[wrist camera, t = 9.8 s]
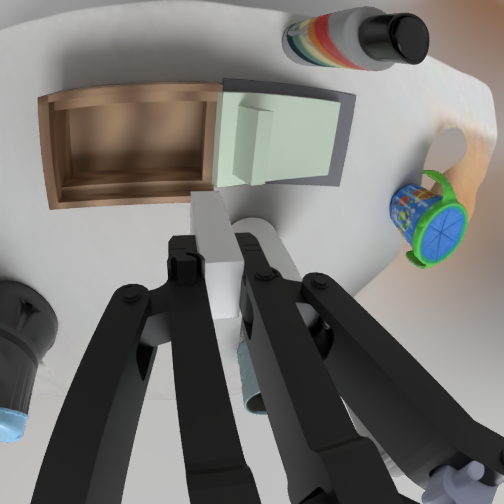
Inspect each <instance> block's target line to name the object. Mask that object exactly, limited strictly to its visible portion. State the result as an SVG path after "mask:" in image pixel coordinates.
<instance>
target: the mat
mask: <svg viewBox="0 0 504 504" xmlns="http://www.w3.org/2000/svg"><path fill="white" fill-rule="evenodd" d="M223 92H248V93H265V94H278V95H289V96H298V97H307V98H315V99H323V100H330V101H336V102H340V103H341V104H340V110H339V116H338V122H337V128H336V134H335V140H334V145H333V151H332V156H331V162H330V167H329V172H328V175H324V176H313V177H302V178H292V179H283V180H274V181H265V184H296V185H320V186H338V187H339V185H340V181H341V176H342V171H343V166H344V161H345V156H346V151H347V146H348V141H349V135H350V130H351V124H352V119H353V113H354V107H355V101H356V96H354V95H349V94H344V93H339V92H334V91H328V90H323V89H317V88H311V87H304V86H297V85H290V84H282V83H274V82H264V81H254V80H242V79H226V78H224V82H223Z"/></svg>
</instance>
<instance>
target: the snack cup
mask: <svg viewBox="0 0 504 504" xmlns="http://www.w3.org/2000/svg"><path fill="white" fill-rule="evenodd" d="M421 172H422V173H424V174H427V175H428V176H429V177H431V178H432V179H434V180H435V181H437V182H438V183H440V184H441V187H442V191H443V196H441V195H438V194H437V193H434V192H432V191H429V190H427V189H425V188H423V187H420V186H418V185H413V184H409V185H408V186H406V187H404V188H402V189H401V190H399V191H398V193H397V194H396V195H394V197H393V199H392V204H391V206H390V213H391V219H392V220H393V222H394V224H395V225H396V227H397V228H398V229H399V231H400V232H401V233H402V235H403V236H404V237H405V239H406V240H407V242H409V243H410V245H411V246H412V248H413V251H408V252H407V253H406V257H407V259H409V261H411V262H412V263H413V264H414V265H416V266H418V267H419V268H422V269H423V268H428V267H432V266H434V265H436V264H438V263H440V262H442V261H443V260H445V259H446V258H448V257H449V256H450V255H451V254H452V253H453V252H454V251H455V250H456V248H457V247H458V246H459V244H460V242H461V241H462V239H463V237H464V234H465V232H466V228H467V222H468V216H467V212H466V209H465V207H464V206H463V205H462V204H460V203H459V202H458V201H457V199H456V195H455V192H454V190H453V187H452V186H451V184H450V183H449V181H448V180H447V179H446V178H445V177H444V176H443V175H442V174H441V173H439V172H437V171H433V170H423V171H421Z"/></svg>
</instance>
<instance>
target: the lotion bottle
mask: <svg viewBox="0 0 504 504" xmlns="http://www.w3.org/2000/svg"><path fill="white" fill-rule="evenodd" d="M282 45H283V49H284V52H285V53H286V55H287V56H288V57H289V58H290V59H291V60H292V61H294V62H295V63H298V64H301V65H306V66H322V67H336V68H348V69H357V70H367V71H382V70H386V69H388V68H390V67H391V66H392V65H394V64H395V63H402V64H412V65H416V64H419V63H421V62H422V61H423V60H424V59H425V57H426V55H427V52H428V49H429V33H428V29H427V27H426V25H425V24H424V22H423V21H422V20H421V19H420V18H419V17H417V16H416V15H413V14H410V13H394V14H386V13H385V12H383V11H382V10H379V9H377V8H374V7H366V6H365V7H357V8H352V9H347V10H343V11H339V12H334V13H330V14H327V15H323V16H319V17H315V18H312V19H308V20H305V21H302V22H298V23H296V24H294V25H292V26H290V27H289V28H288V29H287V30H286V32H285V33H284V35H283V39H282Z"/></svg>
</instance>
